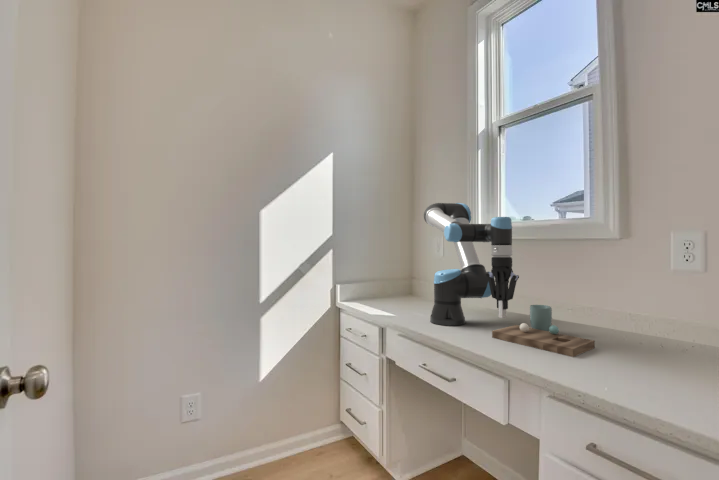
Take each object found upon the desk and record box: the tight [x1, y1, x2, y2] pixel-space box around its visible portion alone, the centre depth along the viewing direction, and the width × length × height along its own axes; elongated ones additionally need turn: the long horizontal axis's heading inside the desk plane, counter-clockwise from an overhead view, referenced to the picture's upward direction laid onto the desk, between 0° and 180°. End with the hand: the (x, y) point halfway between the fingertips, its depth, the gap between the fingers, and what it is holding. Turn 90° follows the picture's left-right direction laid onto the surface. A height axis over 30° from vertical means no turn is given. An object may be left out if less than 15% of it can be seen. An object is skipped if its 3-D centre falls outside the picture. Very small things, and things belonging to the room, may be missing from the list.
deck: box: [491, 324, 596, 358], centre depth 125 cm, size 28×16×2 cm, turn 36°
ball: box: [519, 322, 530, 332], centre depth 130 cm, size 3×3×3 cm
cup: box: [529, 304, 553, 332], centre depth 141 cm, size 8×8×10 cm
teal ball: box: [549, 324, 560, 334], centre depth 126 cm, size 3×3×3 cm
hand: (502, 317), depth 137 cm, fingers closed
